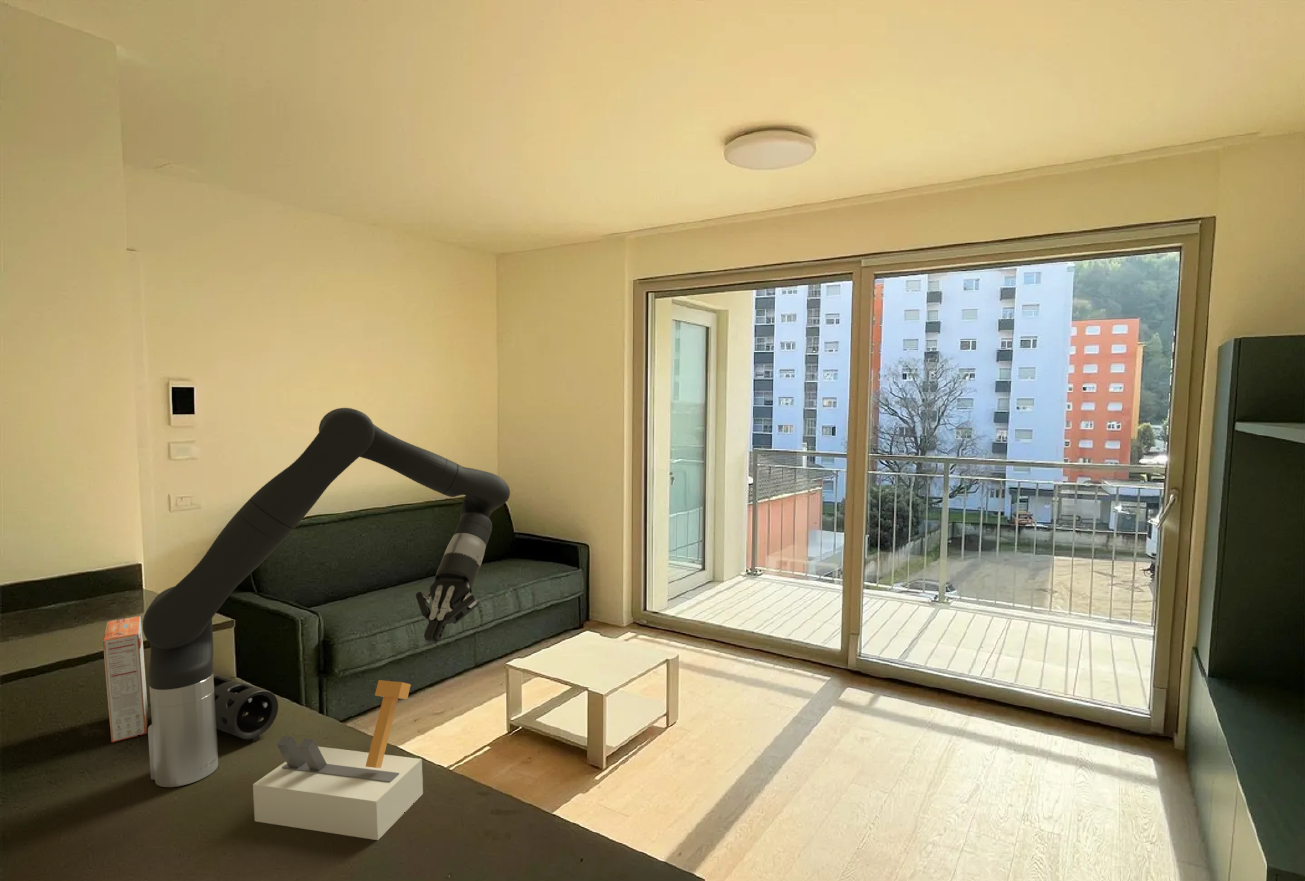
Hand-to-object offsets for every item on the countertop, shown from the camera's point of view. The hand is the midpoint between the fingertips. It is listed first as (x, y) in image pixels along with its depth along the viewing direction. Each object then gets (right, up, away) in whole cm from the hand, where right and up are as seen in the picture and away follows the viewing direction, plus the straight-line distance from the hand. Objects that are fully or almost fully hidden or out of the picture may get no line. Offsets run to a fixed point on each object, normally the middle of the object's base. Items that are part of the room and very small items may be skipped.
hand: (430, 642), depth 123 cm
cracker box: (-66, -22, +14) cm, 71 cm away
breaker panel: (-9, -22, -15) cm, 28 cm away
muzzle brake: (-48, -22, +13) cm, 54 cm away
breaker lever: (-4, -15, -17) cm, 23 cm away
